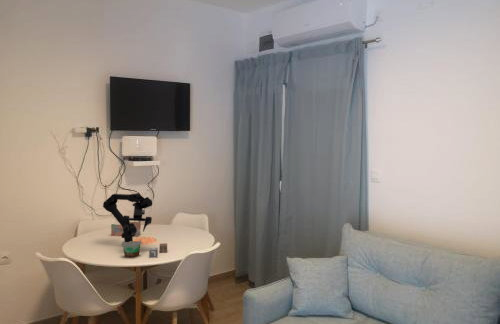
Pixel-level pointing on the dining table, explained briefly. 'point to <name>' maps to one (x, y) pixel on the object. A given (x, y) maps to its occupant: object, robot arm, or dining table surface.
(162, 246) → the walnut block numbered 1
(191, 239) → the dining table surface
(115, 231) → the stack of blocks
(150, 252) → the charcoal block numbered 7
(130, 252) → the food container
